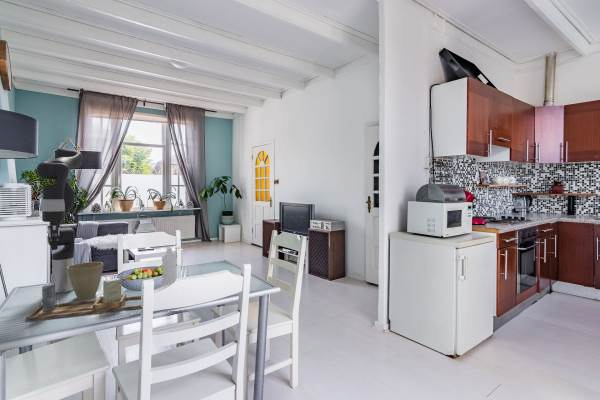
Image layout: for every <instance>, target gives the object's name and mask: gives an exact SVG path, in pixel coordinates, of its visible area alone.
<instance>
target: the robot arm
mask: <svg viewBox="0 0 600 400" xmlns="http://www.w3.org/2000/svg"><path fill="white" fill-rule="evenodd" d="M82 164H83V153H82V152H81V151H80V150H75V149H71V148H70V149H68V148H61V147H59V148H57V149H56V151H55V154H54V159H53V160H46V161H42V162H40V163H39V164H38V165H37V167H36V175H37V176H38V177H39V178H41V179H43V180H53V184H47V185H45V186H43V187H42V202H41V203H42V204H41V210H42V211H41V212H42V213H41V214H42V215H41V218H42V219H41V221H42V222H43V223H49V224H48V225H47V231H48V233H47V244H48V245H49V246H50V250H51V251H55V252H54V253H52V255H51V266H52V267H51V272H52V273H50V284H55V294H60V293H62V294H63V293H67V292H70V291H74V290H73V287H72V285H71V282H70V278H69V274H68V270H67V267H68V266H71V265H74V264H75V263H74V262H75V256H74V255H75V243H76V241H75V240H76V235H75V230H74V228H72V227H61V224H62V222H64V221H65V220H66V216H67V215H68V214H69V212H71V210H73V208H74V205H75V198H76V193H75V189H74V188H73V186H72V185H71V183H70V182H69V181H68V177H69V173H70V171H71V170H75V169H79V168H81V166H82ZM62 246H63V247H62ZM58 247H62V248H61V249H60V250H58ZM57 250H58V251H57Z"/></svg>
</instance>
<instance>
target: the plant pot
mask: <svg viewBox="0 0 600 400" xmlns="http://www.w3.org/2000/svg"><path fill="white" fill-rule="evenodd" d="M103 268H104V263H103V262H102V261H89V262H81V263H74V265H71V266H68V267H67V270H68V274H69V278H70V282H71V285H72V287H73V290H72V291H73V292H74V294H75V296H76V298H77V299H78V300H87V299H91V298H93V297H95V296H96V295H97V292H98V290H99V286H100V283H101V279H102V274H103V270H104V269H103Z"/></svg>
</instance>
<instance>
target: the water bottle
mask: <svg viewBox="0 0 600 400" xmlns="http://www.w3.org/2000/svg"><path fill="white" fill-rule="evenodd" d="M173 249H175V250H177V249H180V246H178V245H176V246H174V247H173V248H172V247H167V248H166V251H165V253H164V254H163V256H162V258H161V261H162V266H161V267H162V269H161V270H162V278H161V279H162V282H161V283H162V287H163V286H165V285H168V284H170V283H172V282H173V281H175V280H176V279H177V276H178V275H177V255H176V254H175V253H174V252H173V251H174V250H173ZM176 281H177V280H176Z"/></svg>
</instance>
